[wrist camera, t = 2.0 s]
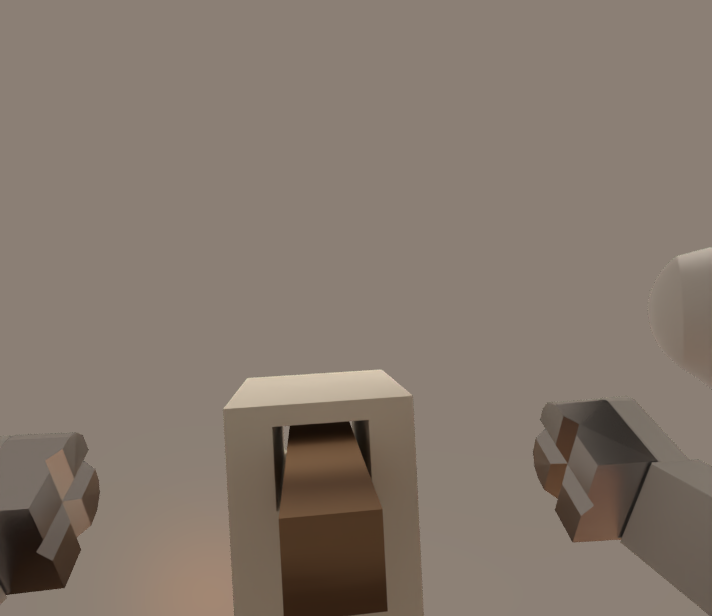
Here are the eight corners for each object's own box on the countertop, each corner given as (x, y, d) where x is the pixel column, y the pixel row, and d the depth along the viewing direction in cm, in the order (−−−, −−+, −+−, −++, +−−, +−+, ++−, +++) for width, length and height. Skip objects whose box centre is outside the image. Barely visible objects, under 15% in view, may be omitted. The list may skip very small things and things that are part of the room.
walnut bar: (387, 611, 16) (382, 509, 16) (283, 623, 15) (278, 518, 15) (343, 448, 34) (340, 400, 34) (295, 451, 33) (292, 403, 33)
